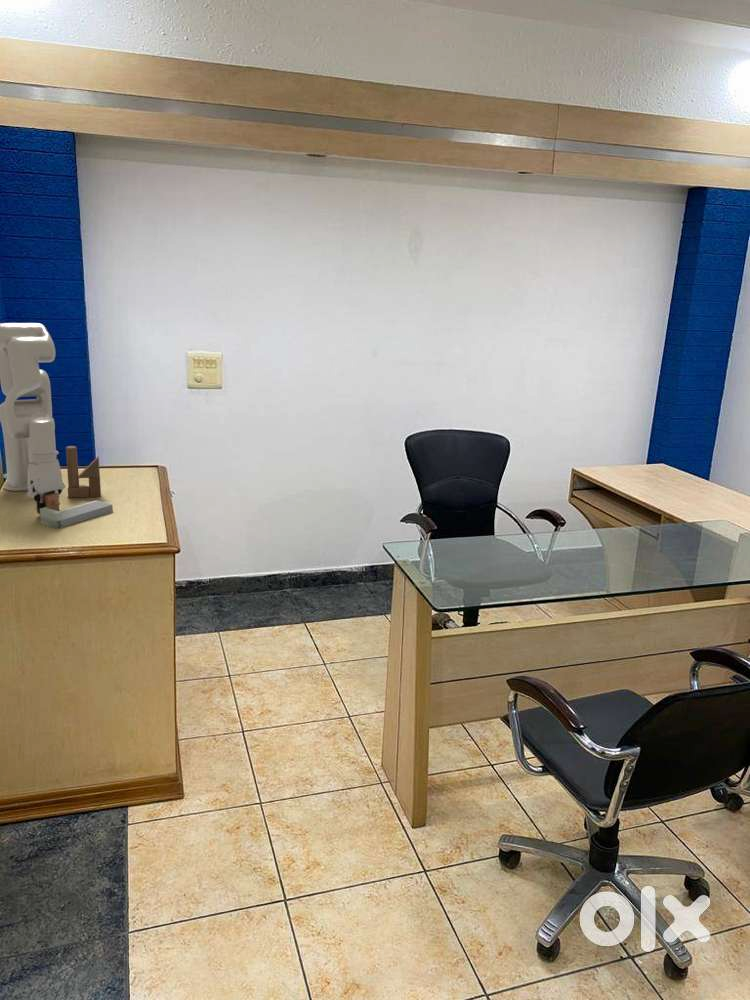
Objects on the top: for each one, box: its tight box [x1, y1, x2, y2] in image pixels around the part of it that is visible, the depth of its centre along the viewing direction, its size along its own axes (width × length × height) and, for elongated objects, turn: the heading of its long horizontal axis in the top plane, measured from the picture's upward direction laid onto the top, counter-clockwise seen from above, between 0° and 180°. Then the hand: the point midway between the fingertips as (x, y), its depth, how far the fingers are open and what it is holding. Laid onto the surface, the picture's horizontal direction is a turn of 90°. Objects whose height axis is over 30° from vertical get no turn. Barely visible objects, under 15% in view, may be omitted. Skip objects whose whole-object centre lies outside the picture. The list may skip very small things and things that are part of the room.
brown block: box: [35, 492, 61, 515], centre depth 257 cm, size 8×4×7 cm, turn 59°
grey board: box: [39, 499, 114, 529], centre depth 258 cm, size 8×22×5 cm, turn 149°
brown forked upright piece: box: [65, 445, 102, 499], centre depth 278 cm, size 4×11×18 cm, turn 105°
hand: (48, 511), depth 258 cm, fingers closed on brown block, 3 cm apart
